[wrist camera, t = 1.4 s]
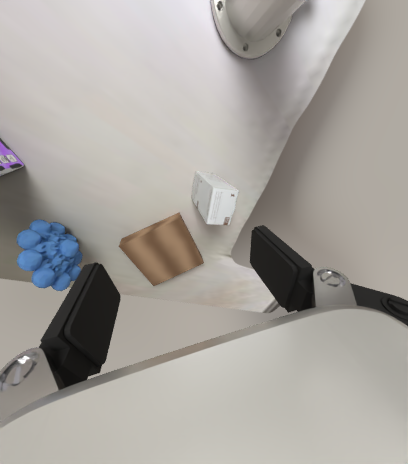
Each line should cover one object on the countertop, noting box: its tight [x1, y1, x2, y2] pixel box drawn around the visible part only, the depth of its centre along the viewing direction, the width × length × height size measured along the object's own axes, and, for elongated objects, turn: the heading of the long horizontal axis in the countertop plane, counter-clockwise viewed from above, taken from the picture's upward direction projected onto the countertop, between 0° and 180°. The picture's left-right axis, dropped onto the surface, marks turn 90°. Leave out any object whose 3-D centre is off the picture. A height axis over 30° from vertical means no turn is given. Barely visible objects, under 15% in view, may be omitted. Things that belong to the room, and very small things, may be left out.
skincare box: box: [192, 171, 239, 225], centre depth 29 cm, size 6×4×12 cm
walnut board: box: [119, 213, 204, 286], centre depth 38 cm, size 14×14×3 cm
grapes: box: [17, 220, 82, 291], centre depth 28 cm, size 12×7×12 cm, turn 17°
